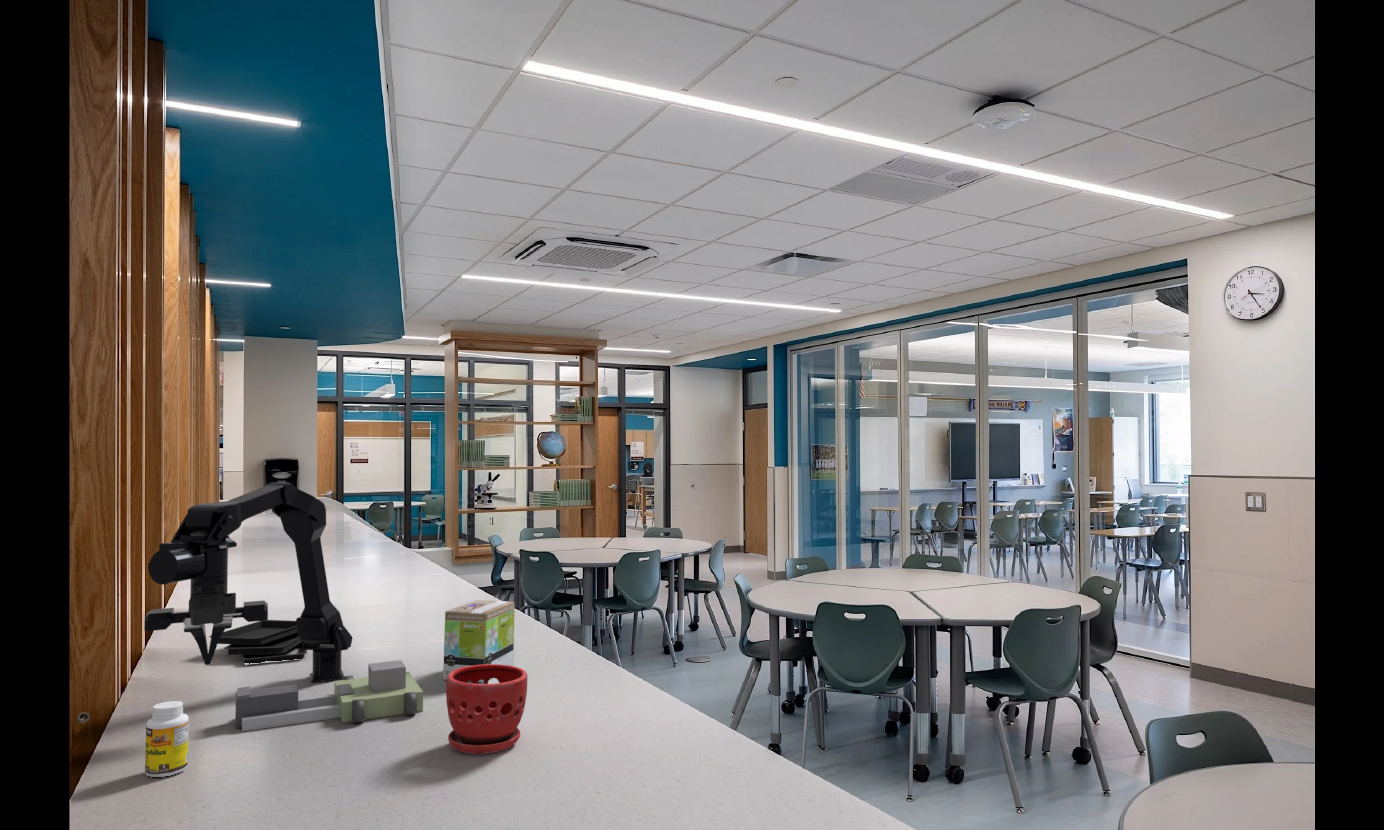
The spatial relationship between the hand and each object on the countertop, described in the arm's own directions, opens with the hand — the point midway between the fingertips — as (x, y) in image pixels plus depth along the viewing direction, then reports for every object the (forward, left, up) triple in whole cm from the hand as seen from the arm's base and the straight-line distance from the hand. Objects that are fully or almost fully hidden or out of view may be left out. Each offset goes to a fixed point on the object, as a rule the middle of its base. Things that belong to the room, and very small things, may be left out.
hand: (207, 664), depth 148 cm
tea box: (-14, +51, -12) cm, 55 cm away
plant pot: (+32, +41, -12) cm, 54 cm away
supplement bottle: (+20, -5, -12) cm, 24 cm away
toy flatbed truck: (0, +20, -11) cm, 23 cm away
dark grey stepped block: (0, +9, -11) cm, 15 cm away
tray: (-59, +10, -12) cm, 61 cm away
